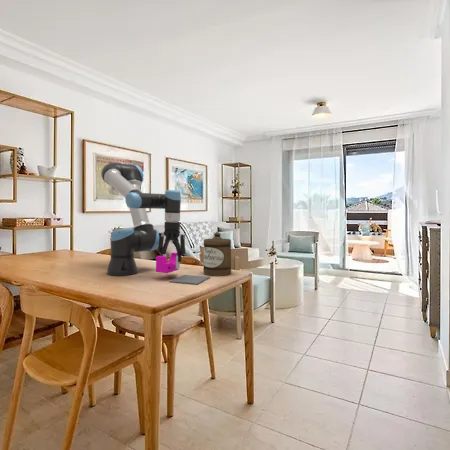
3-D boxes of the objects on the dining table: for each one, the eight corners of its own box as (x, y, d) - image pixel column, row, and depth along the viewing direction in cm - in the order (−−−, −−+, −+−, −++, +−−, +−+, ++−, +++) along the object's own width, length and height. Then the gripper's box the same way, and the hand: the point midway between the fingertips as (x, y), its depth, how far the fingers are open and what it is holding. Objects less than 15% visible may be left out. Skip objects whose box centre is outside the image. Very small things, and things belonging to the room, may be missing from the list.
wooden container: (197, 273, 172) (198, 232, 171) (214, 269, 185) (214, 230, 184) (220, 277, 164) (221, 233, 163) (236, 272, 176) (237, 232, 175)
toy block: (166, 273, 153) (167, 257, 153) (155, 271, 156) (156, 256, 155) (183, 268, 167) (183, 253, 166) (173, 266, 169) (173, 252, 169)
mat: (169, 282, 151) (169, 281, 151) (184, 275, 166) (184, 274, 166) (197, 284, 146) (197, 283, 146) (210, 278, 162) (210, 276, 162)
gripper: (150, 220, 160) (149, 267, 162) (187, 223, 154) (185, 271, 155) (158, 220, 167) (157, 264, 169) (193, 222, 161) (192, 268, 162)
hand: (171, 267), depth 162 cm, fingers closed on toy block, 7 cm apart
